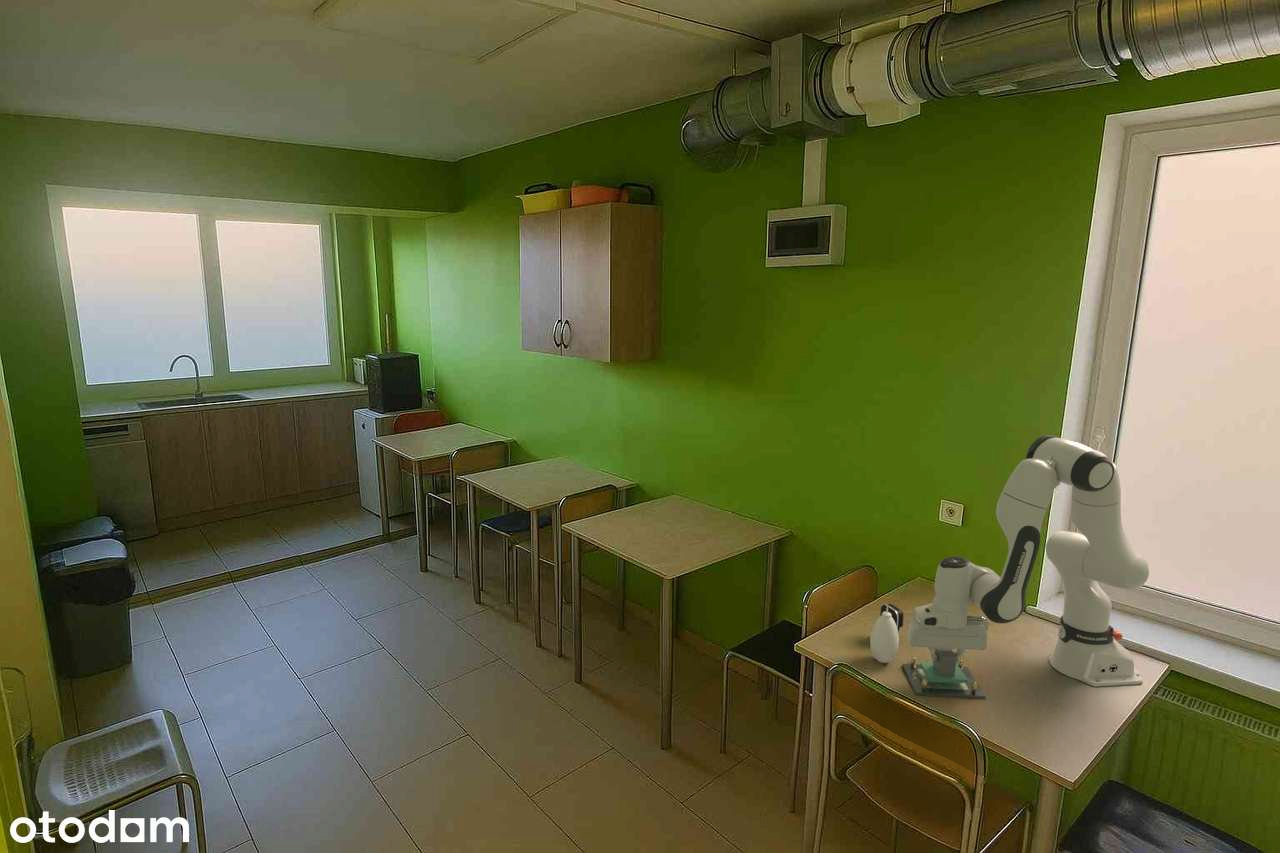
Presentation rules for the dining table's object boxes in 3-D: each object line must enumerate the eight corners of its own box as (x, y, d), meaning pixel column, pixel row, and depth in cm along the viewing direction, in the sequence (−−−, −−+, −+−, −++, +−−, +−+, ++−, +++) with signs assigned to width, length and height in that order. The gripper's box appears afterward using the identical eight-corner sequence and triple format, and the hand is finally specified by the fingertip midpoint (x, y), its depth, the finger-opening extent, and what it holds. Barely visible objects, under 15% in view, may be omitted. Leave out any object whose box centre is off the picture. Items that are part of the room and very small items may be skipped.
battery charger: (903, 645, 212) (906, 610, 210) (893, 647, 211) (896, 613, 209) (887, 634, 219) (890, 600, 216) (877, 636, 217) (880, 602, 215)
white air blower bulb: (872, 651, 209) (876, 596, 205) (899, 658, 205) (904, 602, 201) (865, 663, 203) (870, 607, 198) (893, 671, 199) (899, 614, 195)
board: (956, 666, 197) (958, 644, 195) (967, 683, 189) (970, 660, 187) (920, 665, 197) (922, 643, 196) (929, 682, 190) (932, 659, 188)
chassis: (966, 669, 200) (968, 657, 199) (985, 698, 186) (987, 686, 185) (902, 665, 201) (903, 654, 201) (915, 694, 188) (917, 682, 187)
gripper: (985, 611, 191) (979, 656, 194) (908, 607, 193) (904, 652, 196) (994, 622, 185) (988, 669, 188) (914, 619, 187) (910, 665, 190)
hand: (944, 660), depth 192 cm, fingers closed on board, 4 cm apart
